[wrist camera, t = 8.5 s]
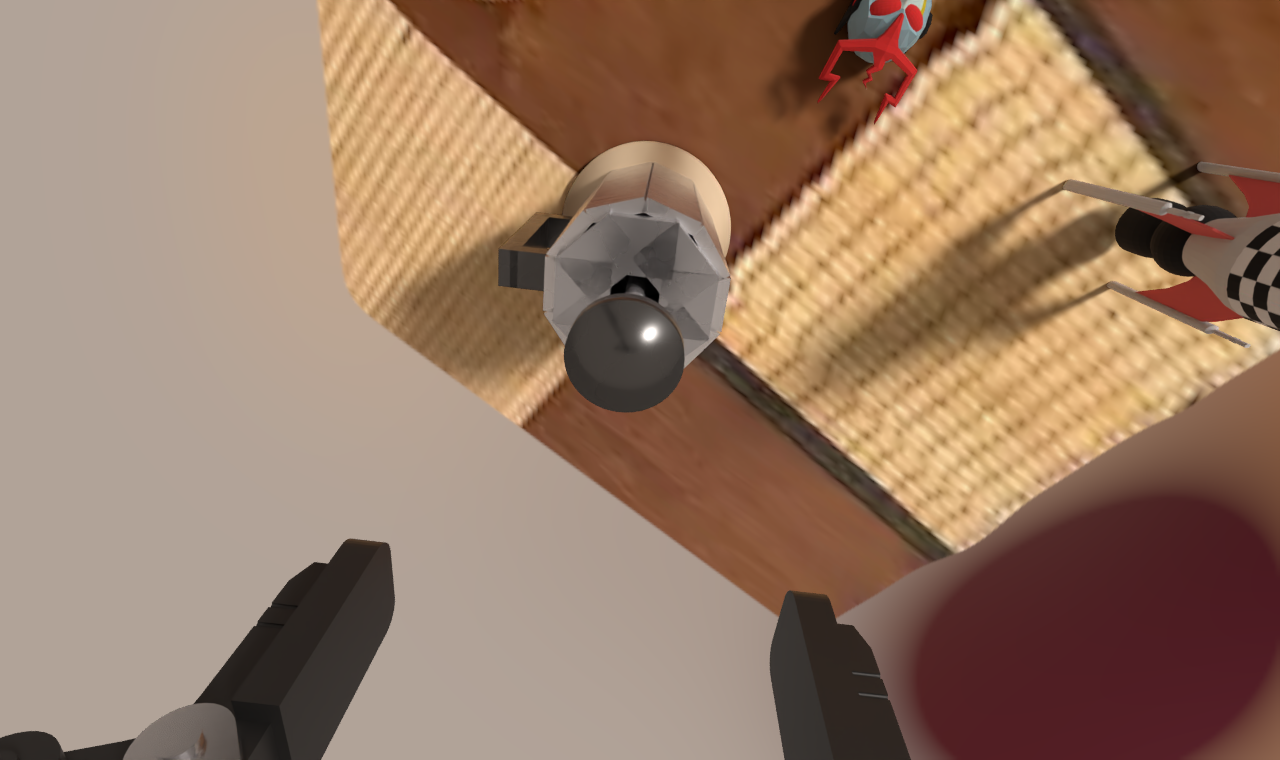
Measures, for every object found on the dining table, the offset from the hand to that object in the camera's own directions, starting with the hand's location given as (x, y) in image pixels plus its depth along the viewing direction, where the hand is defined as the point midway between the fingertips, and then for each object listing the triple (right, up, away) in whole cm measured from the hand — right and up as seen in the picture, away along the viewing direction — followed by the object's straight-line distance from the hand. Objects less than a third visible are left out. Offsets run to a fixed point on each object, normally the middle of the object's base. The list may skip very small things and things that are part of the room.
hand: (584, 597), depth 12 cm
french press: (0, +15, +31) cm, 34 cm away
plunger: (+1, +13, +27) cm, 30 cm away
